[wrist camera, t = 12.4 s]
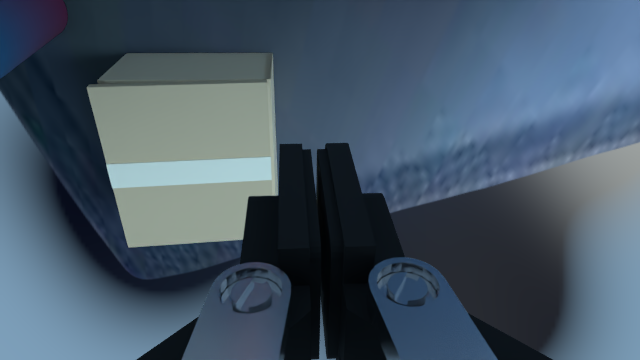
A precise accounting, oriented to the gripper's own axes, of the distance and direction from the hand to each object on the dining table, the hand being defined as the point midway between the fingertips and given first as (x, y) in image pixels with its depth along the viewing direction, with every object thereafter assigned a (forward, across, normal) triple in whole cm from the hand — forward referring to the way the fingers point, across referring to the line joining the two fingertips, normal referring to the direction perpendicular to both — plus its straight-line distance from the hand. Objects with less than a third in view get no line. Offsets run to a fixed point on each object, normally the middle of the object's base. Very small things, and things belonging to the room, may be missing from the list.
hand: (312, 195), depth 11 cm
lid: (+27, +9, +14) cm, 31 cm away
